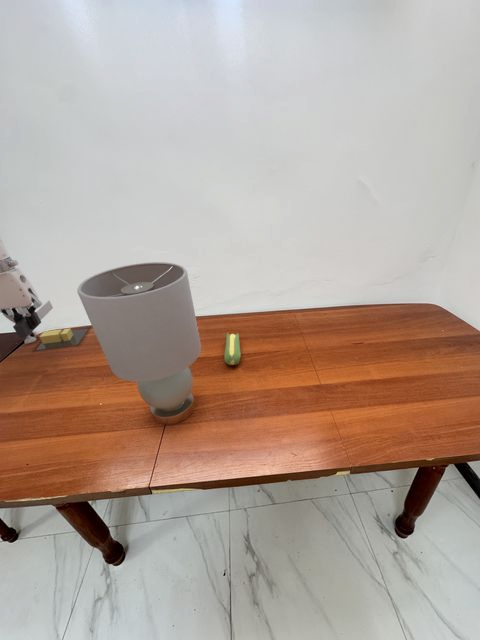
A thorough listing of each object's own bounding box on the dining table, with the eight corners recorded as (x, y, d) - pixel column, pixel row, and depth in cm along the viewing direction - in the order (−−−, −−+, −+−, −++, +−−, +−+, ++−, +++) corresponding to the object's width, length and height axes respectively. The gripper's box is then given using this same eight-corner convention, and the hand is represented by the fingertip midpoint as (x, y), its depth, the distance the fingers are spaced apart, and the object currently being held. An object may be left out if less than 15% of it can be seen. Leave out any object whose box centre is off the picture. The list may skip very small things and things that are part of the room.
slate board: (37, 353, 104) (35, 350, 103) (51, 336, 113) (49, 333, 113) (79, 348, 105) (77, 344, 104) (89, 332, 115) (88, 328, 114)
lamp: (156, 381, 86) (117, 261, 67) (222, 386, 83) (200, 261, 64) (117, 435, 70) (50, 297, 51) (196, 444, 67) (157, 299, 47)
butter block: (43, 343, 106) (39, 336, 104) (47, 338, 109) (44, 331, 108) (60, 341, 107) (57, 334, 105) (65, 336, 110) (61, 329, 109)
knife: (19, 337, 84) (12, 326, 82) (49, 308, 101) (44, 298, 99) (27, 336, 85) (21, 325, 83) (56, 307, 101) (51, 297, 99)
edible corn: (224, 370, 89) (222, 358, 87) (226, 337, 106) (224, 326, 104) (241, 369, 89) (240, 356, 87) (240, 335, 106) (239, 324, 104)
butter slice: (63, 341, 107) (60, 334, 105) (67, 335, 110) (64, 328, 109) (69, 340, 107) (66, 333, 106) (73, 335, 111) (70, 328, 109)
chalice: (27, 350, 106) (0, 304, 96) (16, 347, 108) (-11, 302, 98) (47, 340, 111) (24, 296, 101) (36, 337, 114) (12, 293, 104)
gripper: (35, 259, 82) (63, 318, 92) (-28, 265, 80) (7, 325, 90) (21, 267, 76) (53, 330, 86) (-48, 274, 74) (-7, 337, 84)
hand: (29, 327), depth 88 cm, fingers closed on knife, 2 cm apart
